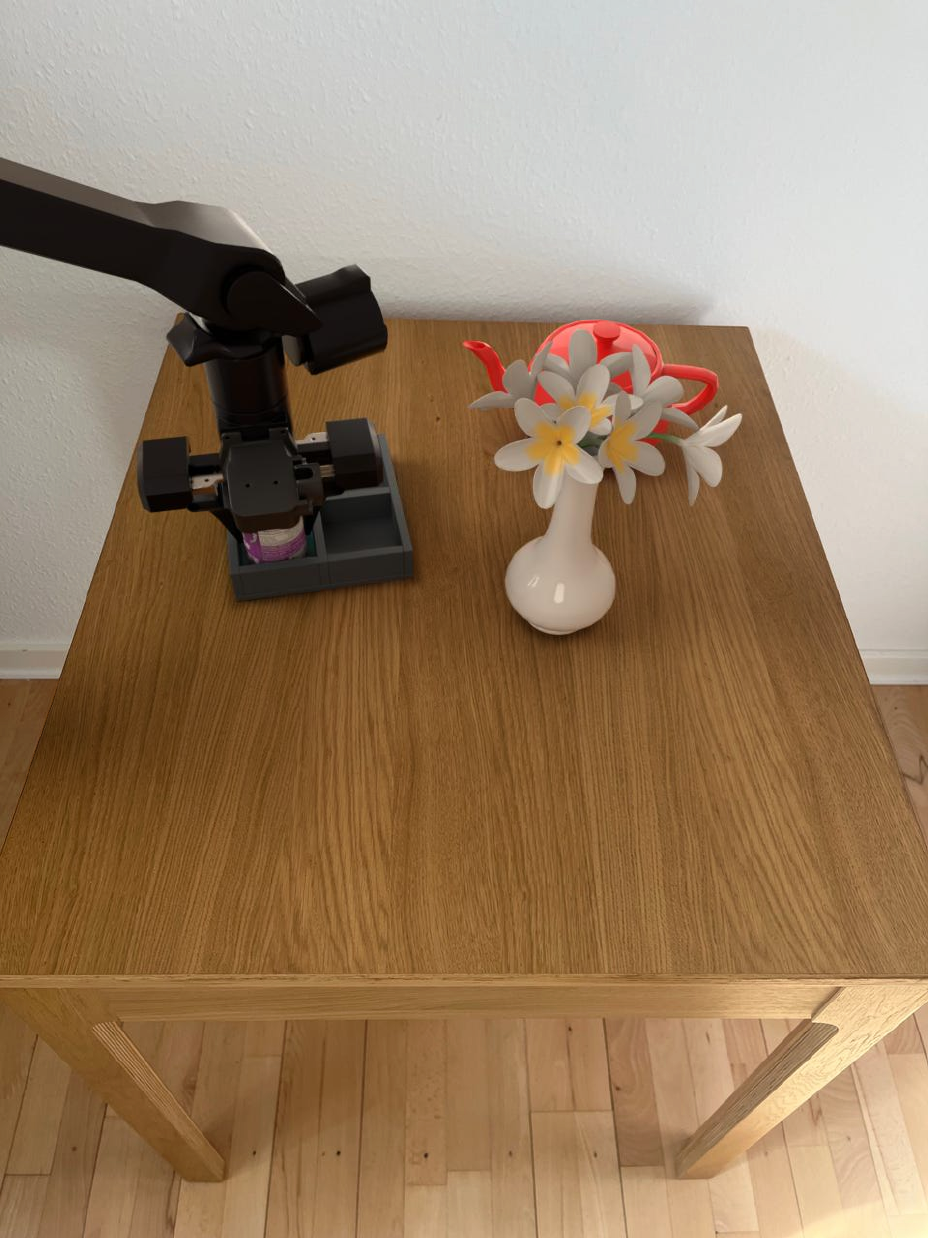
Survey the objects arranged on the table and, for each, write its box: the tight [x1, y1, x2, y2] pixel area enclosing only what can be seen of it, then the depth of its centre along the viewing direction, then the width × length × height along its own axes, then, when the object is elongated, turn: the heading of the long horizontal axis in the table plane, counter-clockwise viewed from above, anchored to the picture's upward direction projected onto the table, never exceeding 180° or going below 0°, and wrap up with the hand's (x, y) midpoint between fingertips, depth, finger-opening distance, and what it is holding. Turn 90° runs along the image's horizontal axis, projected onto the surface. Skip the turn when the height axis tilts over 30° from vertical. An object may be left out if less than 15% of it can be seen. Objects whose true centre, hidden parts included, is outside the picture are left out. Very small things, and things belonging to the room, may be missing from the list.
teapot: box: [461, 319, 720, 448], centre depth 92 cm, size 25×16×12 cm, turn 86°
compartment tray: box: [226, 433, 414, 602], centre depth 85 cm, size 15×15×4 cm
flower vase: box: [467, 329, 743, 636], centre depth 72 cm, size 13×18×25 cm
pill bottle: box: [242, 492, 308, 565], centre depth 79 cm, size 5×5×10 cm
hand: (274, 535), depth 81 cm, fingers closed on pill bottle, 5 cm apart
